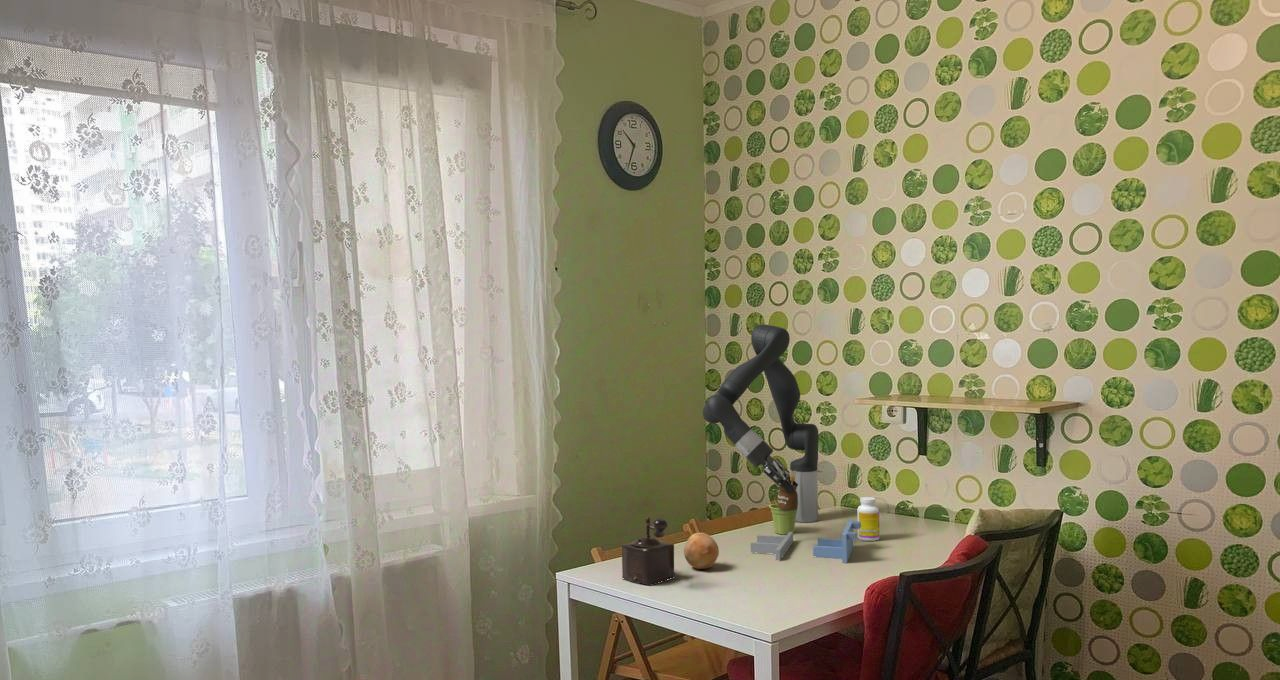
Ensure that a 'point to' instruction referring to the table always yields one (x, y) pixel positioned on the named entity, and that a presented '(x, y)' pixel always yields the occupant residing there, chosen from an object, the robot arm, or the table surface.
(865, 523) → the supplement bottle
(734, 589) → the table surface
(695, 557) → the onion
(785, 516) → the plant pot
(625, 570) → the manual coffee grinder
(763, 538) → the grey rail with prongs
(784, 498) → the utensil holder
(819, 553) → the blue rail with prongs
